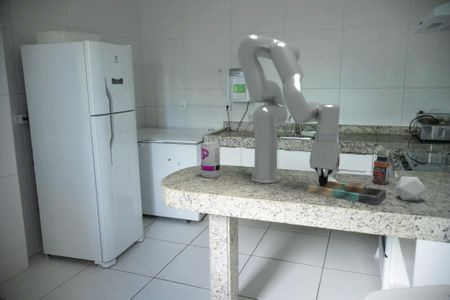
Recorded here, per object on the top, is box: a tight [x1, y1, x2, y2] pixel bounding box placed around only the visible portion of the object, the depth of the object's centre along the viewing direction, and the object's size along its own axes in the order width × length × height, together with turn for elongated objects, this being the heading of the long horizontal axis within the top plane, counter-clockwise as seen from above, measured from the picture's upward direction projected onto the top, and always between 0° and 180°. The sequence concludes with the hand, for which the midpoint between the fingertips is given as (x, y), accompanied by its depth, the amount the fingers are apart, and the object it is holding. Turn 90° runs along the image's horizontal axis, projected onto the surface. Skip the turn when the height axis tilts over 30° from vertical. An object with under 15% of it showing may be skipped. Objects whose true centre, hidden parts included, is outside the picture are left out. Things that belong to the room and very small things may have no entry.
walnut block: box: [343, 181, 367, 195], centre depth 118 cm, size 6×6×4 cm
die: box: [394, 176, 427, 202], centre depth 113 cm, size 8×9×10 cm
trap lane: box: [308, 181, 387, 206], centre depth 119 cm, size 24×11×2 cm, turn 52°
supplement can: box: [200, 141, 221, 179], centre depth 146 cm, size 8×8×15 cm
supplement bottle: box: [371, 154, 391, 185], centre depth 133 cm, size 6×6×11 cm
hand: (322, 185), depth 124 cm, fingers closed
